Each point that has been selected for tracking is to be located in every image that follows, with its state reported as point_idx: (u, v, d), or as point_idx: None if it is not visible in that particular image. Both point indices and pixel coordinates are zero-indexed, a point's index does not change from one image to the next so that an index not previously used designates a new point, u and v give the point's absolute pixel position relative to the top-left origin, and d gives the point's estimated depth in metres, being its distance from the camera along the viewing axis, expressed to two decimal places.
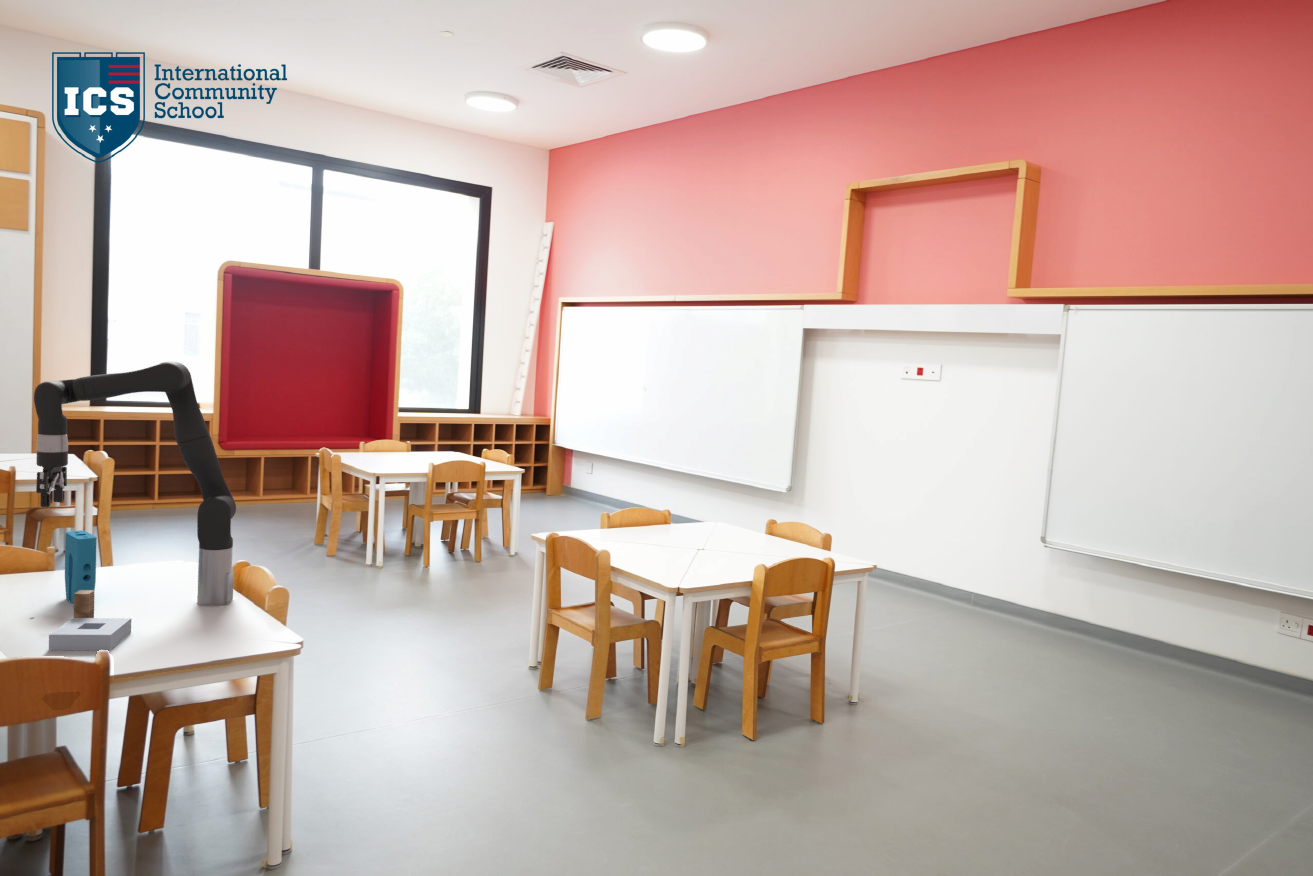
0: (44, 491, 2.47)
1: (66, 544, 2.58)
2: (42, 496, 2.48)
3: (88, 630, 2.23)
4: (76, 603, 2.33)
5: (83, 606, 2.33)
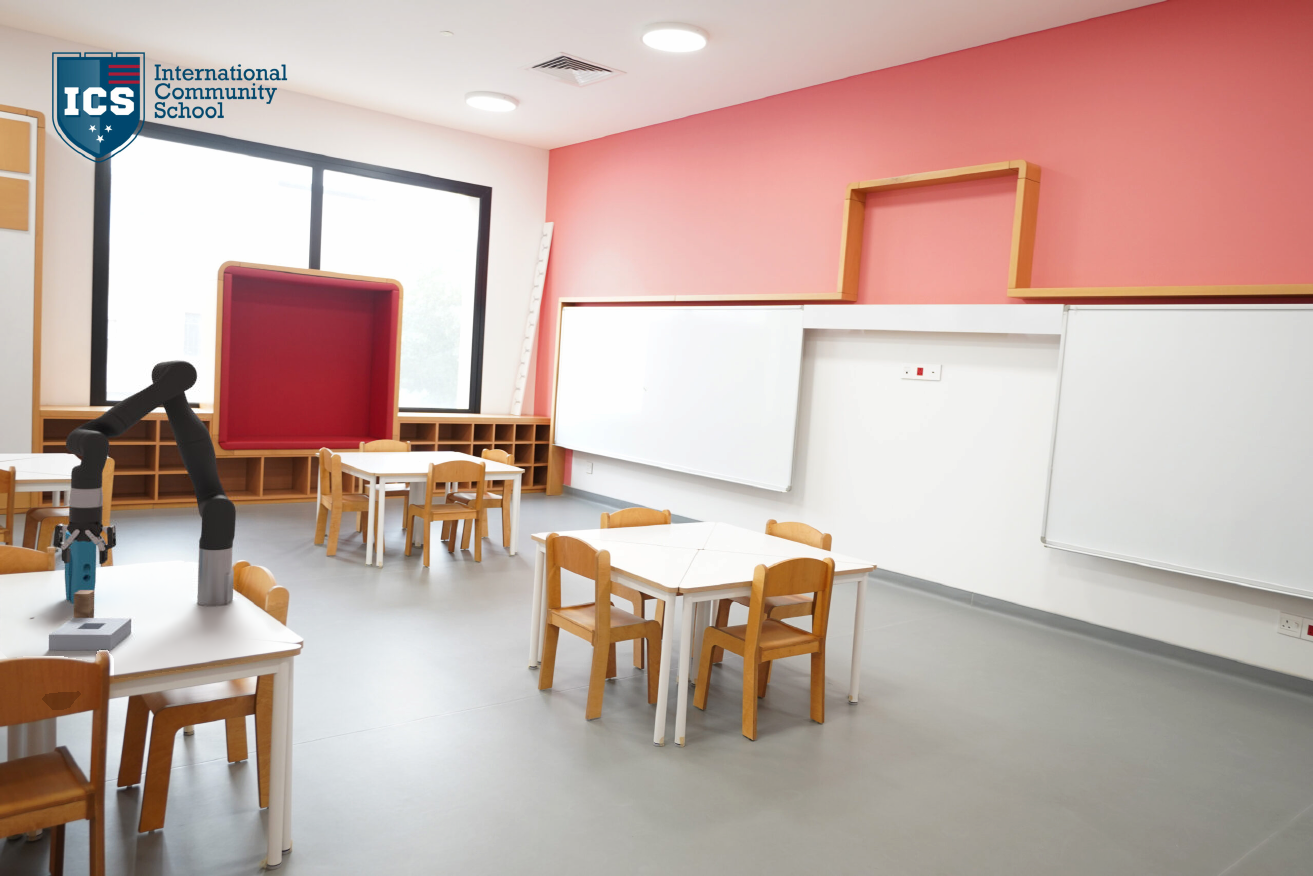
0: (115, 545, 2.36)
1: None
2: (106, 552, 2.35)
3: (88, 630, 2.23)
4: (76, 603, 2.33)
5: (83, 606, 2.33)
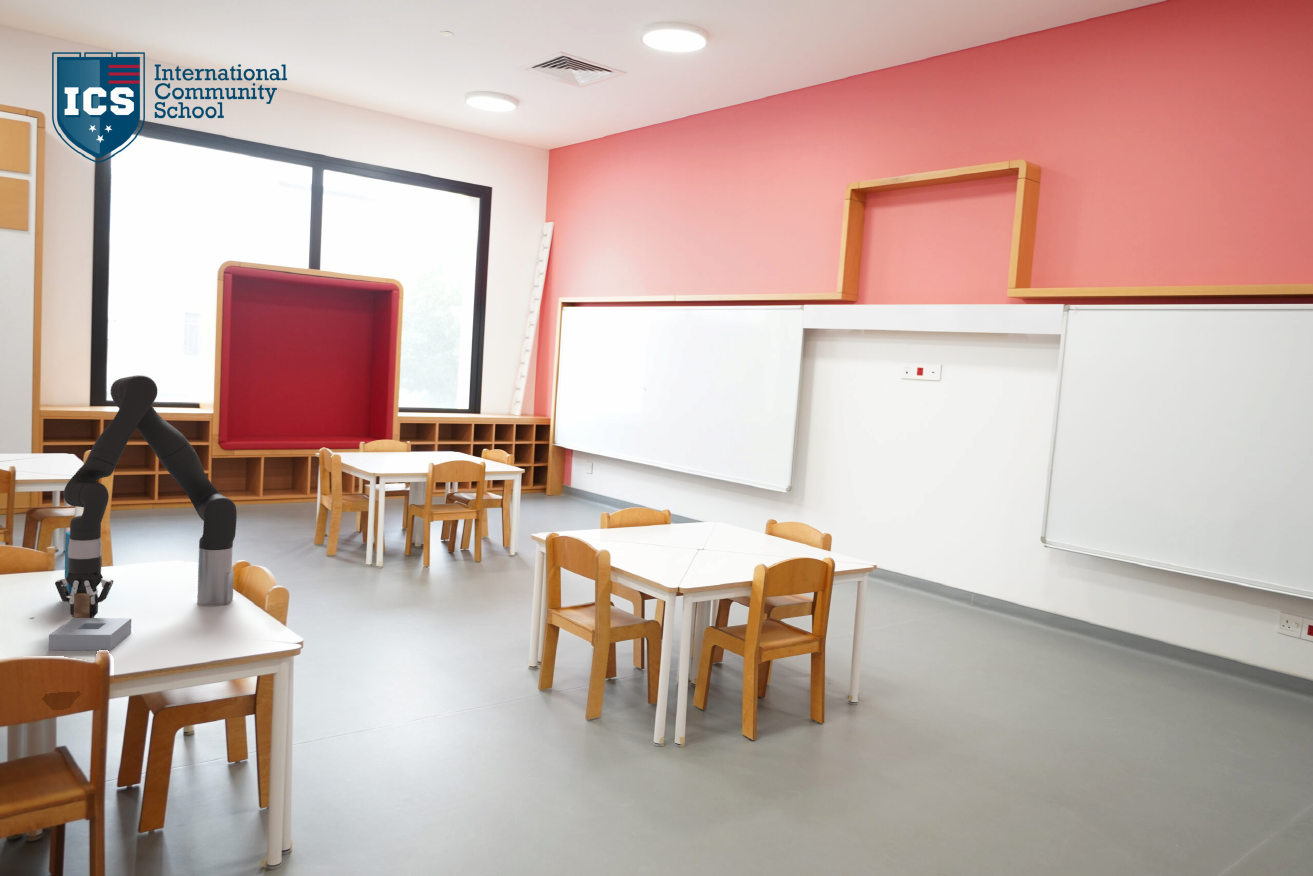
0: (105, 598, 2.37)
1: (66, 544, 2.58)
2: (96, 605, 2.35)
3: (88, 630, 2.23)
4: (76, 603, 2.33)
5: (83, 606, 2.33)
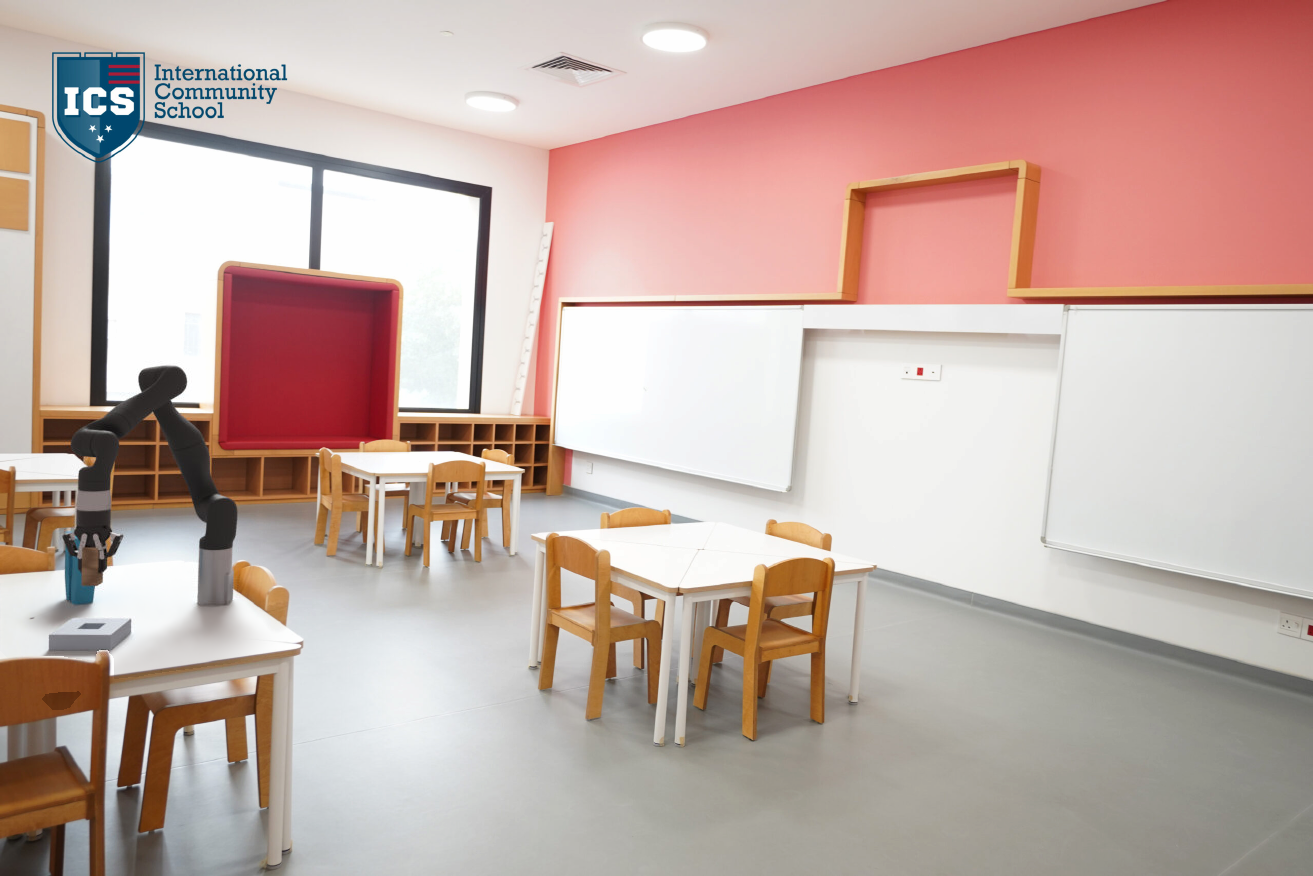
0: (114, 553, 2.26)
1: None
2: (105, 560, 2.25)
3: (88, 630, 2.23)
4: (84, 558, 2.22)
5: (91, 561, 2.23)
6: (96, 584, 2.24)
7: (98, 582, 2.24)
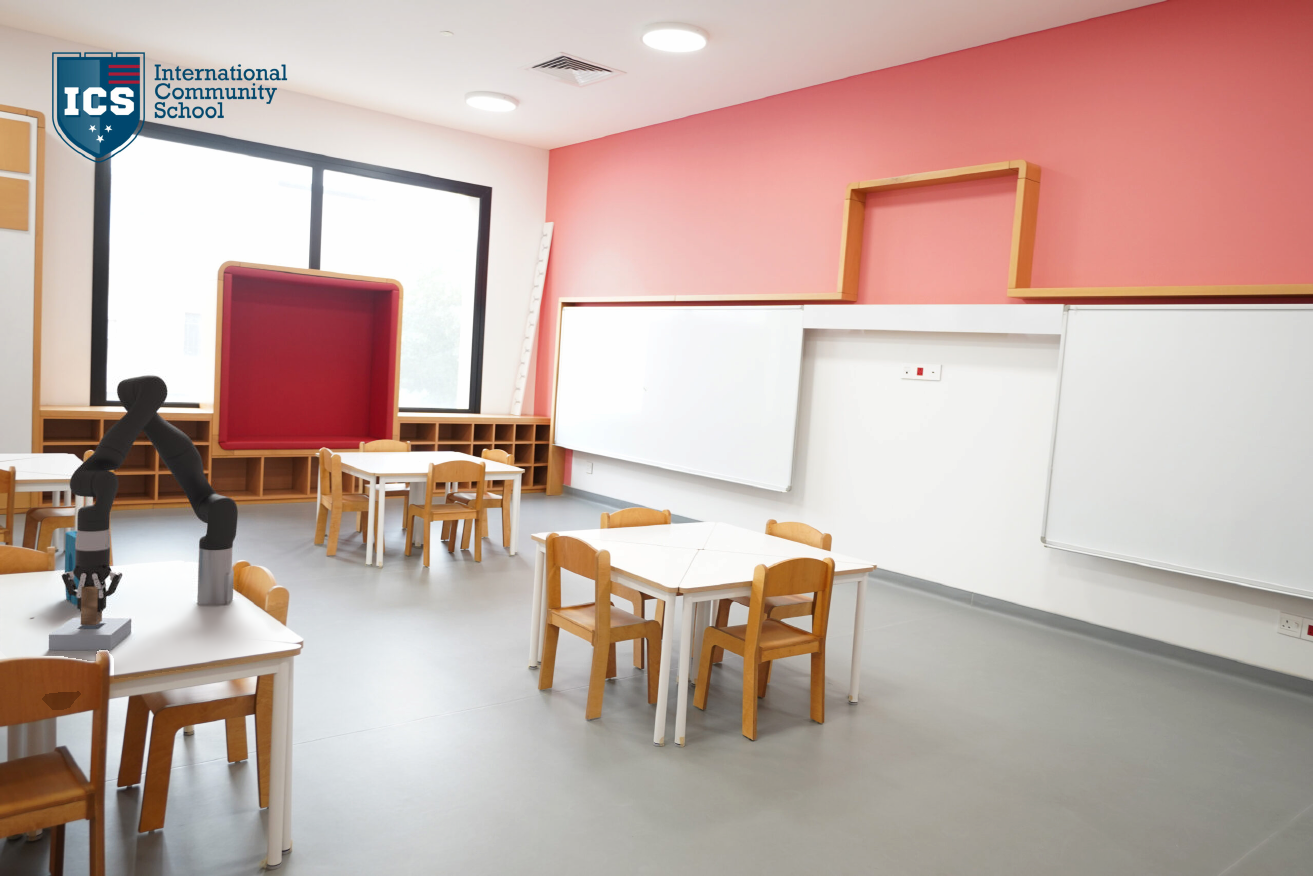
0: None
1: (66, 544, 2.58)
2: (104, 599, 2.26)
3: (88, 630, 2.23)
4: (84, 597, 2.23)
5: (91, 600, 2.24)
6: (95, 623, 2.24)
7: (97, 621, 2.25)
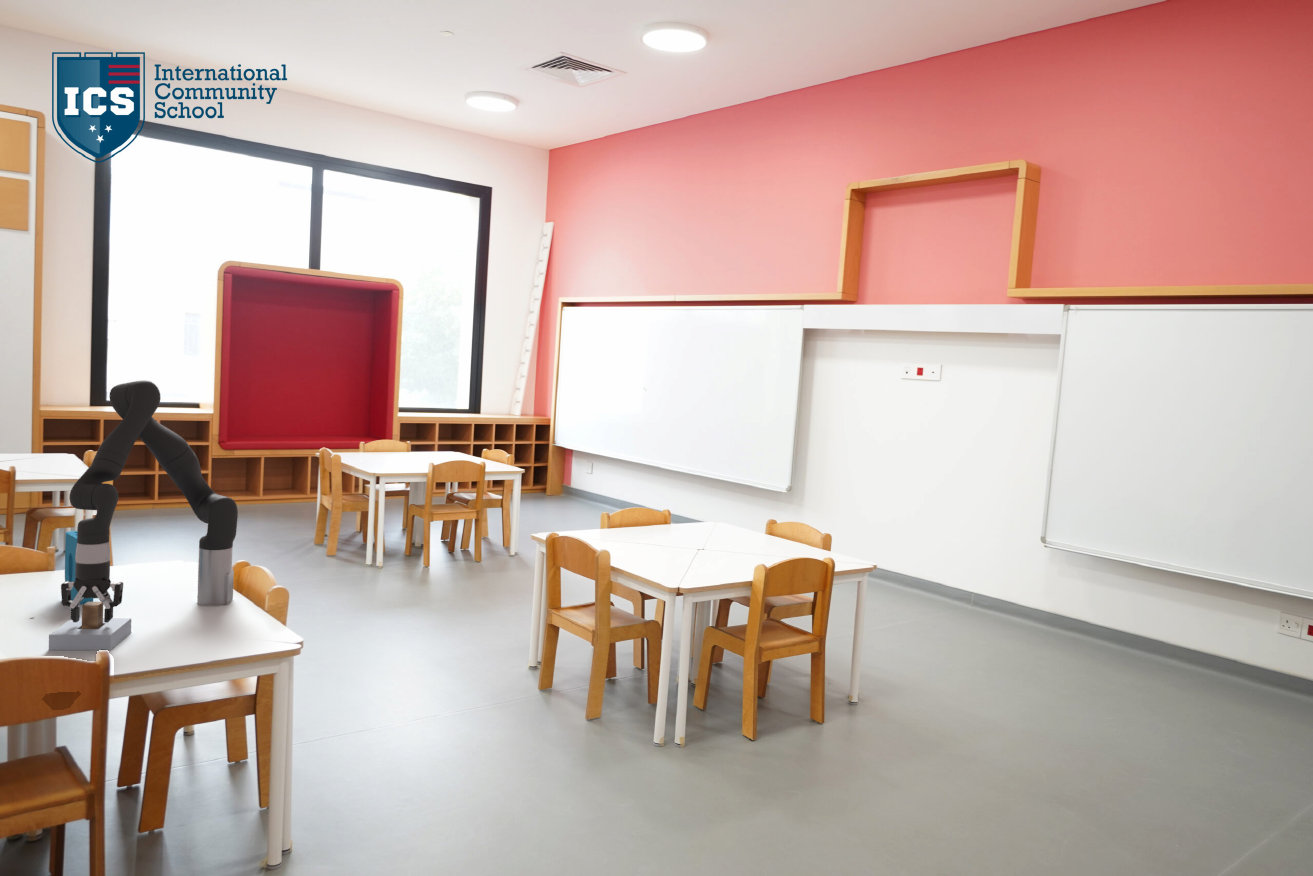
0: (120, 602, 2.28)
1: (66, 544, 2.58)
2: (111, 610, 2.26)
3: (88, 630, 2.23)
4: (84, 616, 2.24)
5: (91, 619, 2.24)
6: None
7: None
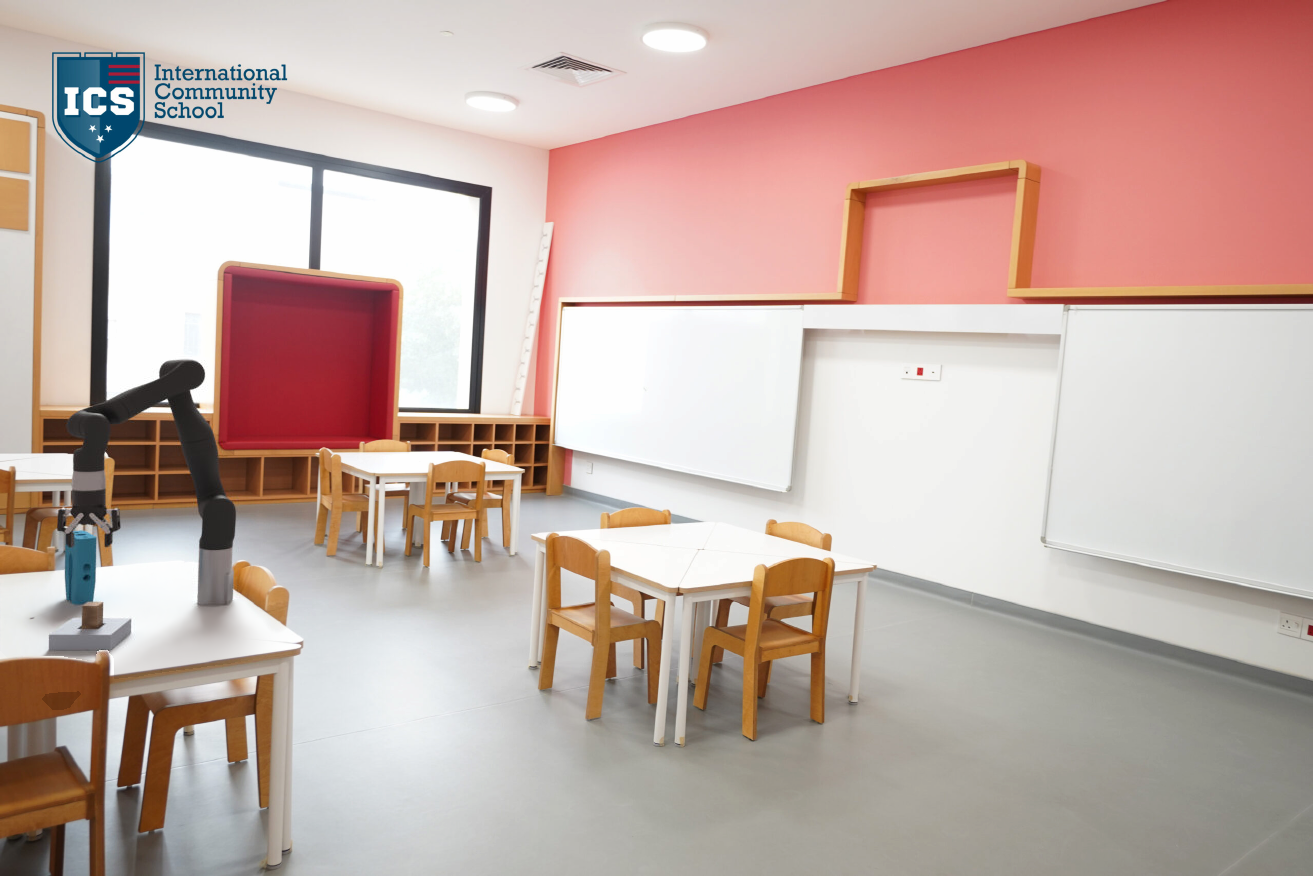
0: (119, 527, 2.35)
1: None
2: (111, 535, 2.33)
3: (88, 630, 2.23)
4: (84, 616, 2.24)
5: (91, 619, 2.24)
6: None
7: None
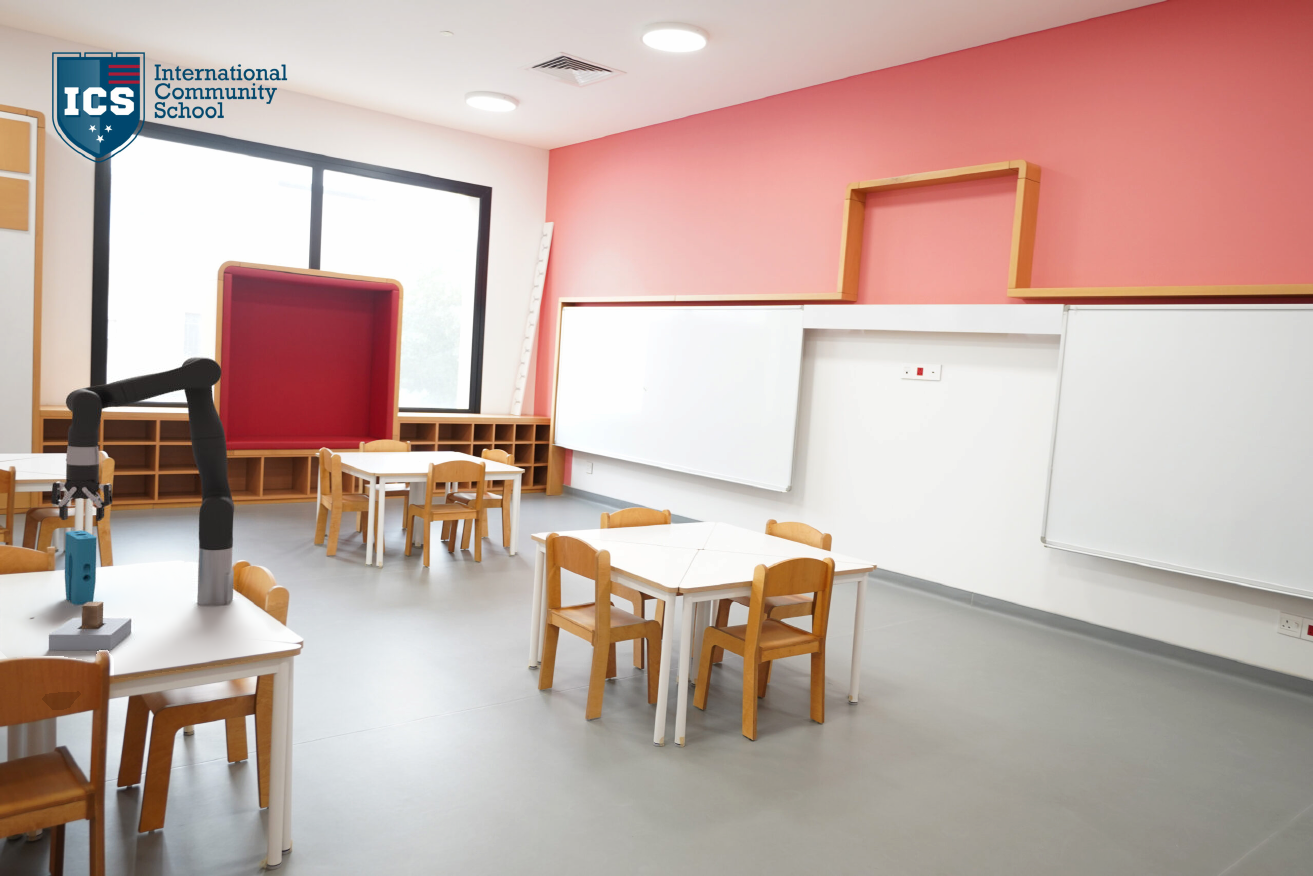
0: (111, 502, 2.42)
1: (66, 544, 2.58)
2: (102, 509, 2.41)
3: (88, 630, 2.23)
4: (84, 616, 2.24)
5: (91, 619, 2.24)
6: None
7: None
